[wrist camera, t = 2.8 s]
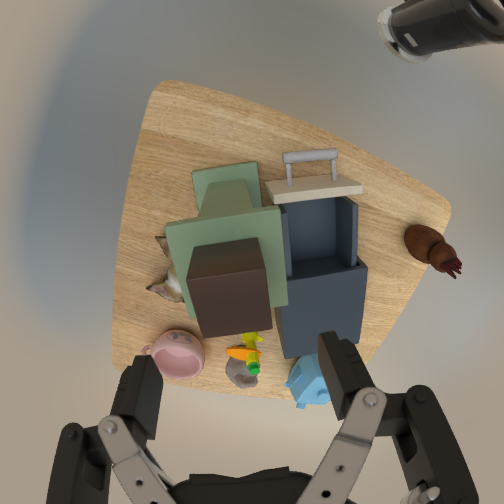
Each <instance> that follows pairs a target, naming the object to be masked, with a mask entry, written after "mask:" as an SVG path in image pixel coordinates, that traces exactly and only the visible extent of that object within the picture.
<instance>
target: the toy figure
mask: <svg viewBox="0 0 504 504" xmlns="http://www.w3.org/2000/svg"><path fill="white" fill-rule="evenodd" d="M241 339H242V342H244V343H246V347H235V346H232V347H230V348H228V349H227V350H226V353H227V354H228V355H229V356H231V357H233V358H235V359H239V360H243V361H246V365H247V367H246V368H247V370H249V371H250V374H252V375H255V374H258V373H259V372H260V369H259V368H260V364H259V357H260V355H261V352H259V351H257V348H256V345H255V342H256V341H264V340H263V339H262V338H261V337H260V336H259V335H258V332H250V333H243V334H241Z"/></svg>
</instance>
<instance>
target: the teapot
mask: <svg viewBox="0 0 504 504" xmlns="http://www.w3.org/2000/svg"><path fill="white" fill-rule="evenodd" d="M284 386H285V387H288V388H290V390H291V392H292V395H293V397H294V399H295V401H296V402H297V406H296V407H297V408H301V409H304V408H305V405H306V404H326V403H327V402H328V401H330V400H331V398H330V395H329V392H328V390H327V387H326V384H325V381H324V378H323V375H322V372H321V369H320V366H319V362H318V353H315V354H310V355H305V356H301V357H300V358H299V360H298V361H297V362H296V364H295V365H294V366H293V367H292V370H291V372H290V373H289V376H288V381H287V382H286V384H285V385H284Z"/></svg>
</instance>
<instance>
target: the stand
mask: <svg viewBox="0 0 504 504" xmlns="http://www.w3.org/2000/svg"><path fill="white" fill-rule="evenodd" d="M191 174H192V179H193V185H194V190H195V195H196V200H197V206H198V211H199V214H198V217H196V218H190V219H185V220H179V221H173V222H168V223H166V225H165V227H164V230H165V234H166V238H167V242H168V245H169V249H170V253H171V256H172V260H173V264H174V267H175V271H176V274H177V278H178V281H179V285H180V288H181V291H182V295H183V298H184V301H185V304H186V308H187V311H188V314H189V317H190V319H196V318H197V317H196V314H195V311H194V308H193V304H192V301H191V297H190V294H189V291H188V287H187V284H186V276H187V272H188V268H189V264H190V260H191V256H192V252H193V248H194V247H196V246H203V245H209V244H216V243H222V242H228V241H235V240H242V239H248V238H255V237H257V238H258V241H259V244H260V248H261V252H262V256H263V260H264V264H265V267H266V274H267V283H268V291H269V300H270V308H274V307H280V306H286V305H288V293H287V280H286V268H285V256H284V244H283V233H282V222H281V212H280V208H279V207H278V205H275V206H267V207H262V200H261V191H260V183H259V176H258V168H257V162H256V161H252V162H244V163H237V164H231V165H224V166H218V167H212V168H206V169H200V170H195V171H192V173H191Z"/></svg>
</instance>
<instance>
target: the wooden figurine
mask: <svg viewBox="0 0 504 504" xmlns="http://www.w3.org/2000/svg"><path fill="white" fill-rule="evenodd" d="M405 245H406V247H407V249H408V251H409V253H410V254H411V255H412V256H413V257H414V258H416V259H417V260H419V261H421V262H423V263H426V264H431V265H432V266H433V267H434V268H435V269H436V270H437V271H440V272H442V273H443V272H444V273H445V272H447V273H448V274H449V275H450V276H452V277H453V278H454V279H456V276H455V274H454V272H453V271H455V272H457V273H458V274H461V272H460V271H459V269H461V266H462V263H461V261H460V260H459V259H458V258H457V255H456V252H455V250H454V249H453V247H452V246H450V245H448V244H447V243H446V242H445V239H444V238H443V236H442V235H441V234H440V233H439V232H437V231H436V230H434V229H432V228H430V227H427V226H423V225H413V226H411V227H410V228H409V229H408V230H407V232H406V234H405ZM452 270H453V271H452Z"/></svg>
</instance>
